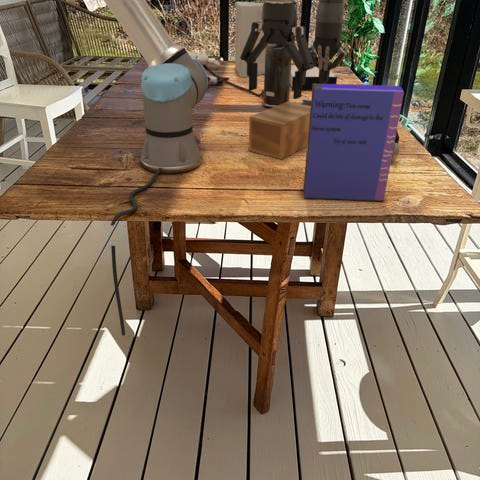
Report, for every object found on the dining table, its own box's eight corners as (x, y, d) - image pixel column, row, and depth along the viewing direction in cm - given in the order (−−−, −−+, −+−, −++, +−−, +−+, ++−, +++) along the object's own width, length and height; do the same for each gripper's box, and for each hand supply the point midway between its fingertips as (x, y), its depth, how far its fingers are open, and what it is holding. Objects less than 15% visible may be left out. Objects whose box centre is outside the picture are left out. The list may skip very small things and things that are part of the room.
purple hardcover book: (379, 191, 109) (398, 84, 97) (383, 201, 105) (404, 90, 93) (303, 188, 110) (312, 82, 98) (304, 197, 106) (314, 88, 94)
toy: (175, 75, 210) (174, 58, 206) (151, 64, 228) (150, 49, 224) (222, 69, 222) (222, 53, 218) (195, 59, 239) (195, 45, 236)
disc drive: (292, 89, 190) (292, 76, 188) (286, 77, 210) (286, 65, 207) (335, 90, 191) (337, 77, 188) (325, 77, 210) (327, 65, 208)
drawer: (310, 119, 154) (312, 95, 150) (337, 125, 149) (340, 100, 145) (271, 138, 138) (272, 111, 134) (299, 145, 133) (302, 118, 129)
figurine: (151, 84, 182) (229, 91, 185) (152, 62, 179) (231, 70, 183) (156, 81, 204) (226, 88, 208) (157, 62, 201) (227, 69, 205)
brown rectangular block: (285, 133, 145) (287, 101, 140) (316, 140, 140) (320, 107, 135) (248, 150, 132) (249, 116, 127) (281, 159, 126) (284, 124, 121)
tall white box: (273, 76, 210) (276, 6, 196) (239, 77, 209) (240, 6, 194) (266, 67, 226) (268, 2, 212) (235, 67, 225) (235, 1, 210)
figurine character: (397, 170, 124) (390, 144, 136) (403, 143, 120) (396, 119, 131) (371, 168, 125) (366, 143, 137) (376, 142, 120) (371, 118, 132)
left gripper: (334, 4, 108) (324, 98, 119) (245, -3, 121) (243, 83, 132) (318, 6, 103) (309, 104, 114) (227, -1, 116) (227, 88, 127)
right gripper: (357, 20, 133) (348, 83, 142) (315, 16, 140) (309, 77, 149) (345, 23, 128) (337, 88, 137) (302, 18, 135) (297, 81, 144)
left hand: (274, 93), depth 123 cm, fingers open, 13 cm apart
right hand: (323, 82), depth 143 cm, fingers closed
